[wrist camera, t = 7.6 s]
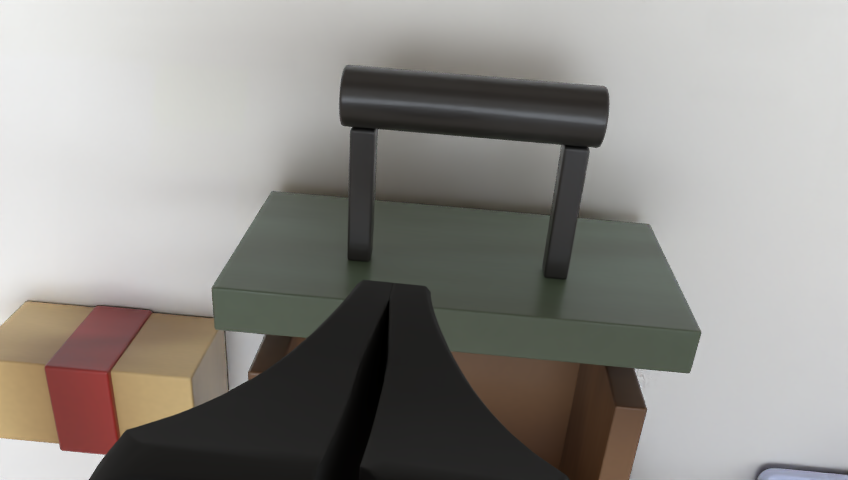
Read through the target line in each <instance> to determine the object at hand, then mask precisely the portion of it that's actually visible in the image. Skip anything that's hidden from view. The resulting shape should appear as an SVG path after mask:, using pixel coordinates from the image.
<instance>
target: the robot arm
mask: <svg viewBox="0 0 848 480" xmlns="http://www.w3.org/2000/svg"><path fill="white" fill-rule="evenodd" d="M89 480H569V478H568V477H567V475H565V474H564V473H562V472H561V471H559V470H558V469H557V468H555V467H554V466H552V465H551V464H549V463H548V462H546V461H545V460H544V459H542V458H541V457H539V456H538V455H536V454H535V453H534V452H532V451H531V450H530V449H529V448H528V447H526V446H525V445H524V444H523V443H522V442H521V441H519V440H518V439H517V438H516V437H515V436H514V435H512V434H511V433H510V432H509V431H508V430H507V429H506V428H505V427H504V425H503V424H502V423H501V422H500V421H499V420H498V419H497V418H496V417H495V416H494V415H493V414H492V413H491V412H490V410H489V409H488V408H487V407H486V405H485V404H484V403H483V402H482V401H481V399H480V398H479V396H478V395H477V394H476V392H475V391H474V390H473V388H472V387H471V385H470V384H469V382H468V381H467V379H466V378H465V376H464V374H463V373H462V371H461V369H460V368H459V366H458V364H457V362H456V361H455V359H454V357H453V355H452V353H451V351H450V349H449V347H448V345H447V343H446V340H445V338H444V336H443V334H442V332H441V329H440V327H439V324H438V321H437V318H436V315H435V312H434V309H433V305H432V301H431V292H430V290H429V289H428V288H427V287H426V286H421V285H411V284H401V283H391V282H381V281H371V280H362V281H361V282H359V283H358V284H357V285H356V286H355V288H354V289H353V290H352V291H351V293H350V294H349V295H348V296H347V297H346V299H345V300H344V301H343V302H342V303H341V304H340V305H339V306H338V308H337V309H336V310H335V311H334V312H333V313H332V314H331V315H330V316H329V317H328V318H327V319H326V320H325V321H324V322H323V323H322V324H321V325H320V326H319V327H318V328H317V329H316V330H315V331H314V332H313V333H312V334H311V335H309V336H308V337H307V338H306V339H305V340H304V341H303V342H301V343H300V344H299V345H298V346H297V347H296V348H294V349H293V350H292V351H291V352H290V353H288V354H287V355H286V356H285V357H283V358H282V359H281V360H279V361H278V362H277V363H275V364H274V365H273V366H271V367H270V368H268V369H267V370H265V371H264V372H262V373H261V374H259V375H257V376H256V377H254V378H252V379H250V380H248V381H247V382H245V383H243V384H241V385H239V386H238V387H236V388H234V389H232V390H230V391H229V392H227V393H225V394H223V395H221V396H219V397H216V398H214V399H212V400H210V401H208V402H205V403H203V404H201V405H198V406H196V407H193V408H191V409H188V410H186V411H183V412H181V413H178V414H175V415H173V416H169V417H166V418H163V419H160V420H157V421H154V422H151V423H147V424H144V425H141V426H138V427H134V428H131V429H127V430H126V431H125V432H124V433H123V434H122V436H121V437H120V438H119V440H118V441H117V442H116V443H115V444H114V445H113V447H112V448H111V449H110V450H109V451H108V453H107V454H106V455H105V457H104V458H103V459H102V461H101V462H100V463H99V465H98V466H97V468H96V469H95V471H94V473H93V474H92V476H91V477H90V479H89ZM757 480H848V475H843V474H833V473H822V472H812V471H801V470H791V469H780V468H770V469H767V470H764V471H763V472H762V473H761V474H760V475H759V477H758V479H757Z"/></svg>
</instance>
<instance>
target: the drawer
mask: <svg viewBox="0 0 848 480" xmlns="http://www.w3.org/2000/svg"><path fill="white" fill-rule="evenodd" d="M339 114H340V121H341V124H342V125H343V126H348V127H352V128H351V131H350V157H349V198H345V197H334V196H322V195H311V194H299V193H288V192H277V191H272V192H271V193H270V195H269V196H268V198H267V200H266V201H265V203H264V205H263V206H262V208H261V209H260V211H259V213H258V214H257V216H256V217H255V219H254V221H253V222H252V224H251V225H250V227H249V229H248V230H247V232H246V233H245V235H244V237H243V238H242V240H241V241H240V243H239V245H238V246H237V248H236V249H235V251H234V253H233V254H232V256H231V258H230V259H229V261H228V262H227V264H226V266H225V267H224V269H223V270H222V272H221V274H220V275H219V277H218V278H217V280H216V282H215V283H214V285H213V286H212V300H213V315H214V328H215V329H216V330H225V331H236V332H247V333H258V334H265V336H264V338H263V340H262V343H261V345H260V347H259V349H258V351H257V354H256V356H255V358H254V360H253V363H252V365H251V367H250V369H249V372H248V380H250V379H252V378H254V377H256V376H257V375H259V374H261V373H262V372H264V371H265V370H267V369H268V368H270V367H271V366H273V365H274V364H275V363H277V362H278V361H279V360H281V359H282V358H283V357H285V356H286V355H287V354H288V353H290V352H291V351H292V350H293V349H294V348H296V347H297V346H298V345H299V344H300V343H301V342H303V341H304V340H305V339H306V338H307V337H308V336H309V335H311V334H312V333H313V332H314V331H315V330H316V329H317V328H318V327H319V326H320V325H321V324H322V323H323V322H324V321H325V320H326V319H327V318H328V317H329V316H330V315H331V314H332V313H333V312H334V311H335V310H336V309H337V308H338V306H339V305H340V304H341V303H342V302H343V301H344V300H345V299H346V297H347V296H348V295H349V294H350V293H351V291H352V290H353V289H354V288H355V286H356V285H357V284H358V283H359V282H361V281H362V280H371V281H381V282H391V283H401V284H411V285H421V286H426V287H427V288H428V289H429V290H430V292H431V301H432V305H433V309H434V312H435V315H436V318H437V321H438V324H439V327H440V329H441V332H442V334H443V336H444V338H445V340H446V343H447V345H448V347H449V349H450V351H451V353H452V355H453V357H454V359H455V361H456V362H457V364H458V366H459V368H460V369H461V371H462V373H463V374H464V376H465V378H466V379H467V381H468V382H469V384H470V385H471V387H472V388H473V390H474V391H475V392H476V394H477V395H478V396H479V398H480V399H481V401H482V402H483V403H484V404H485V405H486V407H487V408H488V409H489V410H490V412H491V413H492V414H493V415H494V416H495V417H496V418H497V419H498V420H499V421H500V422H501V423H502V424H503V425H504V427H505V428H506V429H507V430H508V431H509V432H510V433H511V434H512V435H514V436H515V437H516V438H517V439H518V440H519V441H521V442H522V443H523V444H524V445H525V446H526V447H528V448H529V449H530V450H531V451H532V452H534V453H535V454H536V455H538V456H539V457H541V458H542V459H544V460H545V461H546V462H548V463H549V464H551V465H552V466H554V467H555V468H557V469H558V470H559V471H561V472H562V473H564V474H565V475H567V477H568V478H569V480H629V478H630V474H631V470H632V466H633V462H634V458H635V454H636V451H637V447H638V443H639V439H640V435H641V431H642V427H643V423H644V420H645V416H646V412H647V408H646V405H645V401H644V398H643V395H642V392H641V389H640V385H639V382H638V379H637V376H636V373H635V369H634V368H636V369H647V370H658V371H669V372H680V373H690V371H691V368H692V364H693V360H694V357H695V353H696V350H697V346H698V343H699V339H700V336H701V330H700V328H699V326H698V324H697V322H696V320H695V318H694V316H693V314H692V312H691V309H690V307H689V305H688V303H687V301H686V299H685V297H684V295H683V293H682V291H681V289H680V287H679V284H678V282H677V280H676V278H675V276H674V274H673V272H672V270H671V268H670V266H669V264H668V262H667V259H666V257H665V255H664V253H663V251H662V249H661V247H660V245H659V243H658V241H657V239H656V237H655V235H654V232H653V230H652V228H651V226H650V225H649V224H642V223H631V222H619V221H608V220H596V219H585V218H578V214H579V209H580V203H581V198H582V192H583V186H584V181H585V175H586V169H587V164H588V158H589V153H590V151H589V148H588V147H595V148H597V147H600V146H601V144H602V142H603V139H604V136H605V133H606V128H607V123H608V116H609V93H608V89H607V88H606V87H605V86H595V85H583V84H571V83H559V82H547V81H535V80H523V79H511V78H499V77H487V76H475V75H463V74H451V73H438V72H426V71H414V70H402V69H390V68H378V67H366V66H354V65H347V66H345V68H344V70H343V73H342V78H341V85H340V98H339ZM378 129H383V130H395V131H407V132H418V133H430V134H442V135H454V136H465V137H477V138H489V139H501V140H512V141H524V142H536V143H548V144H559V145H561V151H560V157H559V164H558V170H557V176H556V182H555V189H554V195H553V201H552V208H551V214H550V215H539V214H528V213H516V212H505V211H494V210H482V209H471V208H459V207H448V206H436V205H425V204H414V203H402V202H391V201H379V200H375V184H376V160H377V136H378Z"/></svg>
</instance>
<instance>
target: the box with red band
mask: <svg viewBox="0 0 848 480" xmlns="http://www.w3.org/2000/svg"><path fill="white" fill-rule="evenodd" d="M227 392H228V379H227V363H226V347H225V331H224V330H216V329H215V328H214V318H204V317H193V316H182V315H172V314H161V313H152V311H150V310H141V309H130V308H119V307H109V306H96V307H85V306H74V305H63V304H52V303H41V302H30V301H26V302H25V303H24V304H23V305H22V306H21V307H20V308H19V309H17V310H16V311H15V312H14V313H13V314H12V315H11V316H10V317H9V318H8V319H7V320H6V321H5V322H4V323H3V324H2V325H1V326H0V438H6V439H17V440H27V441H37V442H48V443H58V444H59V445H60V449H61V450H62V451H72V452H82V453H93V454H103V455H106V454H107V453H108V451H109V450H110V449H111V448H112V447H113V445H114V444H115V443H116V442H117V441H118V440H119V438H120V437H121V436H122V434H123V433H124V432H125V431H126V430H127V429H131V428H134V427H138V426H141V425H144V424H147V423H151V422H154V421H157V420H160V419H163V418H166V417H169V416H173V415H175V414H178V413H181V412H183V411H186V410H188V409H191V408H193V407H196V406H198V405H201V404H203V403H205V402H208V401H210V400H212V399H214V398H216V397H219V396H221V395H223V394H225V393H227Z"/></svg>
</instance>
